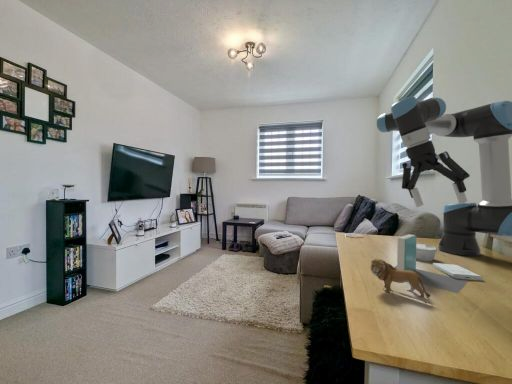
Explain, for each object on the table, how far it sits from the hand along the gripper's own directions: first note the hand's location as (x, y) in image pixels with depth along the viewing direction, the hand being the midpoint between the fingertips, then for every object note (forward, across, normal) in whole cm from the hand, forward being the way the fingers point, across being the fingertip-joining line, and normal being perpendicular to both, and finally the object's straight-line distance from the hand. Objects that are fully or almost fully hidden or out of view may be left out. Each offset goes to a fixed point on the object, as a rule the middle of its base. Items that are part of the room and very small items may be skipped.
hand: (440, 204), depth 78 cm
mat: (+21, -5, -13) cm, 25 cm away
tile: (+19, -9, -14) cm, 26 cm away
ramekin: (+26, -22, +8) cm, 35 cm away
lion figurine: (+16, +1, -30) cm, 34 cm away
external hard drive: (+26, -4, +1) cm, 26 cm away
